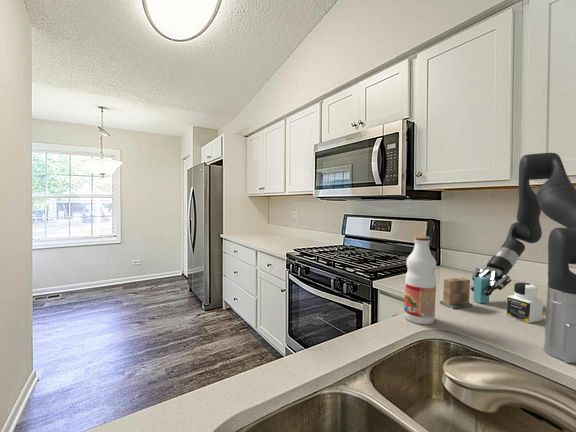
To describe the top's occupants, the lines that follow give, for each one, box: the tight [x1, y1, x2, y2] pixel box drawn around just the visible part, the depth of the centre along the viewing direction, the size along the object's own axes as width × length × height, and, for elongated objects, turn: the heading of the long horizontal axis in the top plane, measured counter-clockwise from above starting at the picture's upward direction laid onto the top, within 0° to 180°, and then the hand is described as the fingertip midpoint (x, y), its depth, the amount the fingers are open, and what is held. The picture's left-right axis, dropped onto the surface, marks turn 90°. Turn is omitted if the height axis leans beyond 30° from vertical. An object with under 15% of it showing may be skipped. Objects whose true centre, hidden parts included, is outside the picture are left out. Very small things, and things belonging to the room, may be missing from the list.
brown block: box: [439, 277, 473, 310], centre depth 111 cm, size 10×6×10 cm, turn 107°
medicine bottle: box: [506, 282, 544, 324], centre depth 99 cm, size 7×7×12 cm
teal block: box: [472, 277, 491, 304], centre depth 115 cm, size 4×3×10 cm, turn 107°
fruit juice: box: [403, 235, 437, 325], centre depth 96 cm, size 9×9×28 cm
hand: (478, 292), depth 115 cm, fingers open, 5 cm apart
